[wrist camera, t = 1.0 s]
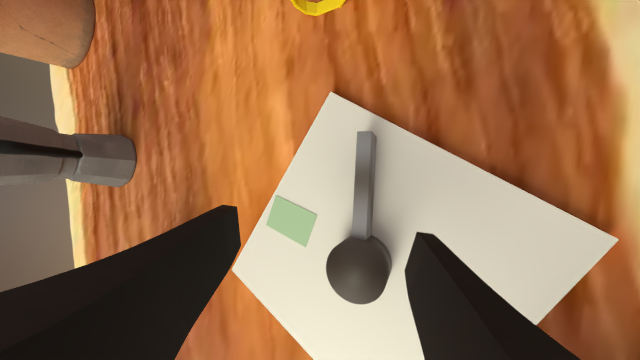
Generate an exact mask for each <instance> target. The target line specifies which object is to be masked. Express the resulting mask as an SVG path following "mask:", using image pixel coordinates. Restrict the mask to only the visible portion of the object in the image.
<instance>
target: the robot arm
mask: <svg viewBox="0 0 640 360" xmlns="http://www.w3.org/2000/svg"><path fill="white" fill-rule="evenodd" d="M240 246H241V241H240V232H239V222H238V212H237V207H235V206H228V205H221V206H219V207H216V208H214V209H212V210H210V211H208V212H206V213H204V214H202V215H200V216H198V217H196V218H194V219H192V220H190V221H188V222H186V223H184V224H182V225H179V226H177V227H175V228H173V229H171V230H169V231H167V232H165V233H163V234H160V235H158V236H156V237H154V238H152V239H149V240H147V241H145V242H143V243H141V244H138V245H136V246H134V247H131V248H129V249H127V250H124V251H122V252H119V253H117V254H114V255H112V256H109V257H106V258H104V259H101V260H98V261H96V262H93V263H90V264H88V265H85V266H82V267H79V268H76V269H73V270H70V271H67V272H64V273H61V274H58V275H55V276H52V277H49V278H46V279H43V280H40V281H37V282H34V283H30V284H27V285H23V286H20V287H17V288H14V289H10V290H7V291H3V292H0V360H174V359H175V358H176V356H177V354H178V352H179V350H180V348H181V346H182V344H183V343H184V341H185V339H186V337H187V335H188V333H189V332H190V330H191V328H192V327H193V325H194V323H195V322H196V320H197V319H198V317H199V316H200V314H201V312H202V311H203V309H204V308H205V306H206V305H207V303H208V302H209V300H210V299H211V297H212V296H213V294H214V292H215V291H216V289H217V288H218V286H219V285H220V283H221V282H222V280H223V279H224V277H225V275H226V274H227V272H228V271H229V269H230V267H231V265H232V263H233V261H234V259H235V257H236V255H237V253H238V251H239V249H240ZM404 272H405V280H406V287H407V293H408V299H409V303H410V306H411V310H412V314H413V318H414V322H415V325H416V329H417V333H418V336H419V340H420V344H421V347H422V351H423V355H424V358H425V360H581V359H579V358H578V357H576V356H575V355H574V354H572V353H571V352H570V351H568V350H567V349H566V348H564V347H563V346H562V345H560V344H559V343H558V342H557V341H555V340H554V339H553V338H551V337H550V336H549V335H548V334H546V333H545V332H544V331H542V330H541V329H540V328H539V327H537V326H536V325H535V324H533V323H532V322H531V321H530V320H528V319H527V318H526V317H525V316H523V315H522V314H521V313H520V312H519V311H517V310H516V309H515V308H514V307H513V306H512V305H510V304H509V303H508V302H507V301H506V300H505V299H503V298H502V297H501V296H500V295H499V294H498V293H496V292H495V291H494V290H493V289H492V288H491V287H490V286H489V285H487V284H486V283H485V282H484V281H483V280H482V279H481V278H480V277H479V276H478V275H477V274H475V273H474V272H473V271H472V270H471V269H470V268H469V267H468V266H467V265H466V264H465V263H464V262H463V261H462V260H461V259H460V258H459V257H458V256H457V255H455V254H454V253H453V252H452V251H451V250H450V249H449V248H448V247H447V246H446V245H445V244H444V243H443V242H442V241H441V240H440V239H439V238H438V237H436V236H435V235H434V234H430V233H423V232H417V233H416V236H415V239H414V242H413V245H412V248H411V251H410V255H409V258H408V261H407V264H406V267H405V270H404Z"/></svg>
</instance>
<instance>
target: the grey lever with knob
mask: <svg viewBox="0 0 640 360" xmlns="http://www.w3.org/2000/svg"><path fill="white" fill-rule="evenodd" d="M376 139H377V137H376V136H375V134H374V133H373V132H372V131H358V132H357V143H356V162H355V181H354V200H353V220H352V235H351V236H350V237H348V238H347V239H345V240H344V241H342V242H341V243H339V244H338V245H337V246H335V247H334V248H333V249H332V250H331V252H330V254H329V255H328V258H327V262H326V274H327V278H328V281H329V283H330V285H331V287H332V288H333V290H334V291H335V292H336V293H337V294H338V295H339V296H340V297H341V298H343V299H344V300H346V301H348V302H350V303H354V304H368V303H371V302H373V301H375V300H377V299H378V298H379V297H380V296H381V295H382V293H383V291H384V289H385V287H386V284H387V281H388V278H389V276H390V273H391V269H392V260H391V256H390V253H389V251H388V249H387V247H386V246H385V245H384V243H383V242H382V241H380V240H379V239H378V238H376V237H374V236H372V217H373V197H374V178H375V159H376Z"/></svg>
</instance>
